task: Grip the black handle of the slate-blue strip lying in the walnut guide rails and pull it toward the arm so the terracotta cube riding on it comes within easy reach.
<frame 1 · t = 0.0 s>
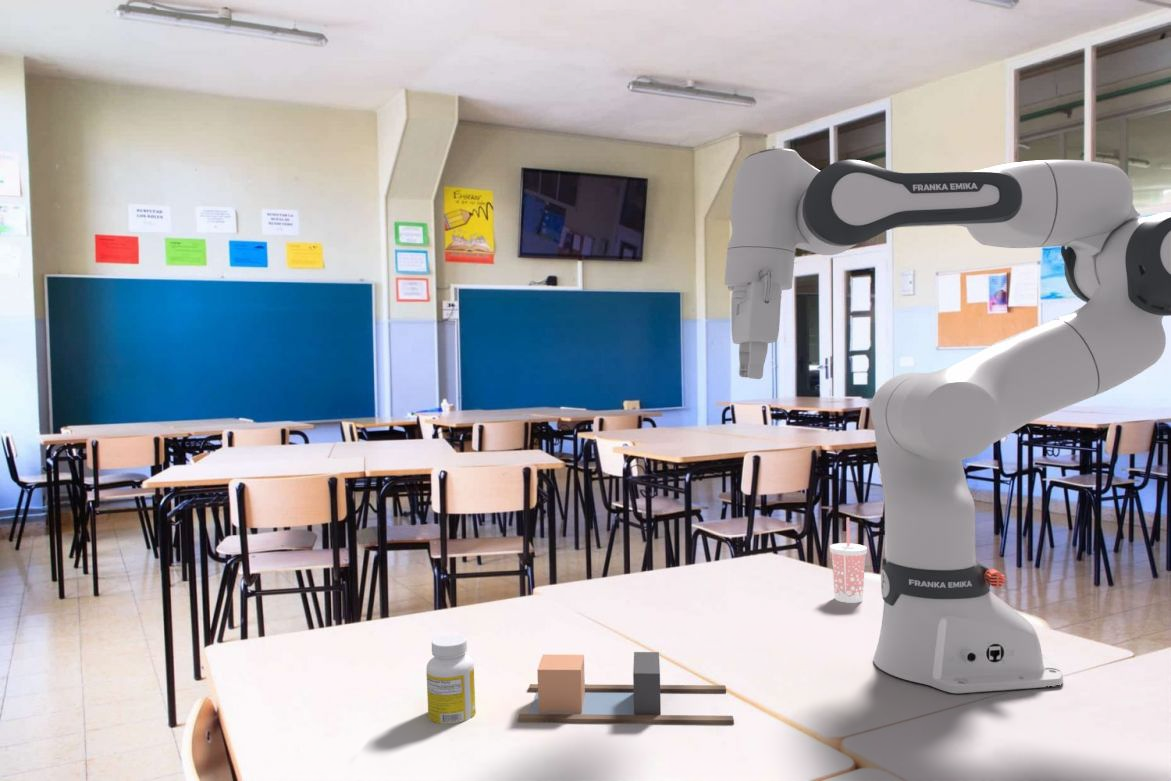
hand: (749, 378, 112), 39 cm above the table, tool pointing down, fingers open, 8 cm apart
beverage cup: (848, 600, 143), on the table
guide rails: (626, 714, 98), on the table
supplement bottle: (452, 725, 97), on the table
terracotta cube: (562, 703, 99), point 1 cm above the table, touching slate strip
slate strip: (595, 687, 98), point 3 cm above the table, slide at 0.0 cm, touching terracotta cube
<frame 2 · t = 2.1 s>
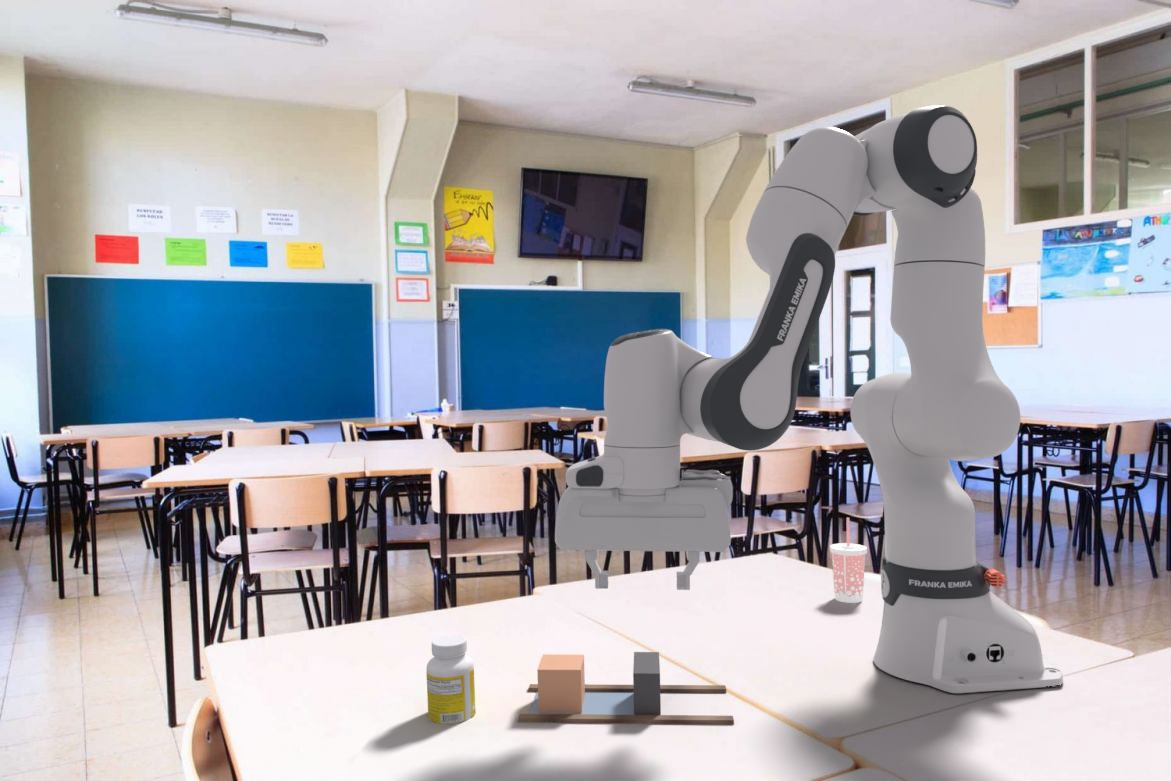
hand: (642, 588, 97), 15 cm above the table, tool pointing down, fingers open, 8 cm apart
nothing on the table moved.
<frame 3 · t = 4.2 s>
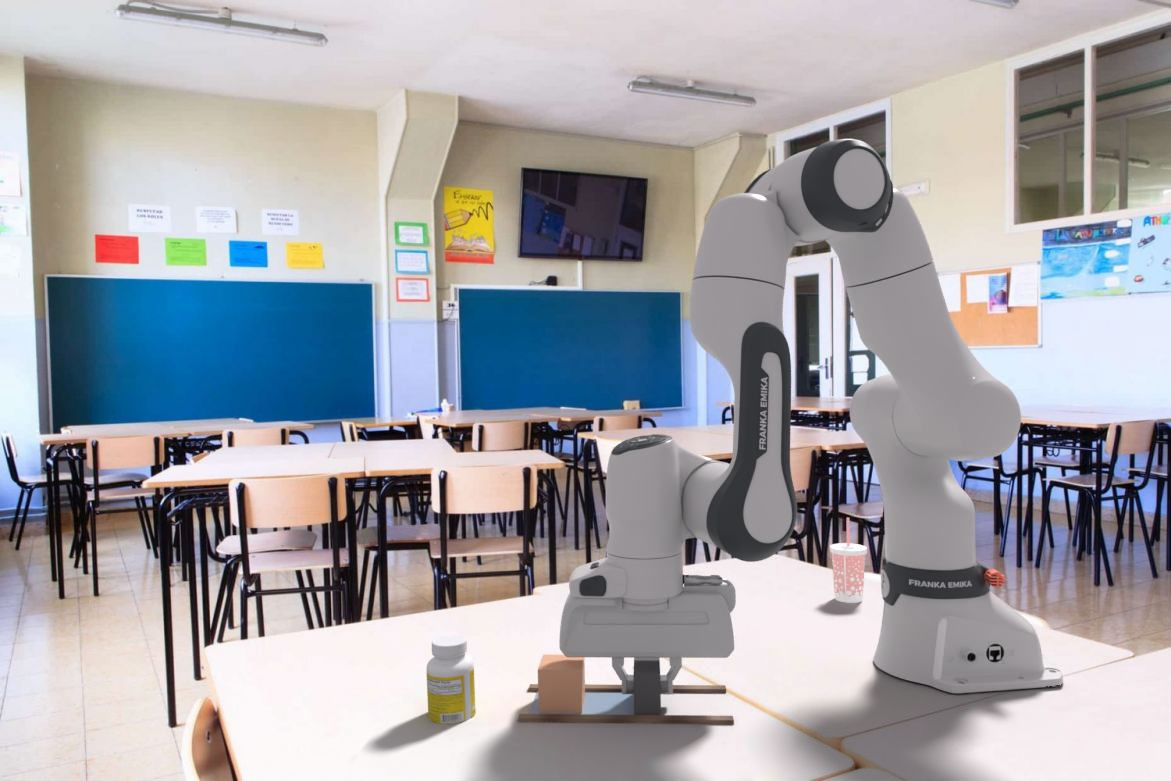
hand: (647, 692, 98), 3 cm above the table, tool pointing down, fingers closed on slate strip, 3 cm apart
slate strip: (596, 687, 98), point 3 cm above the table, slide at 0.0 cm, touching gripper, terracotta cube
everything else where it was.
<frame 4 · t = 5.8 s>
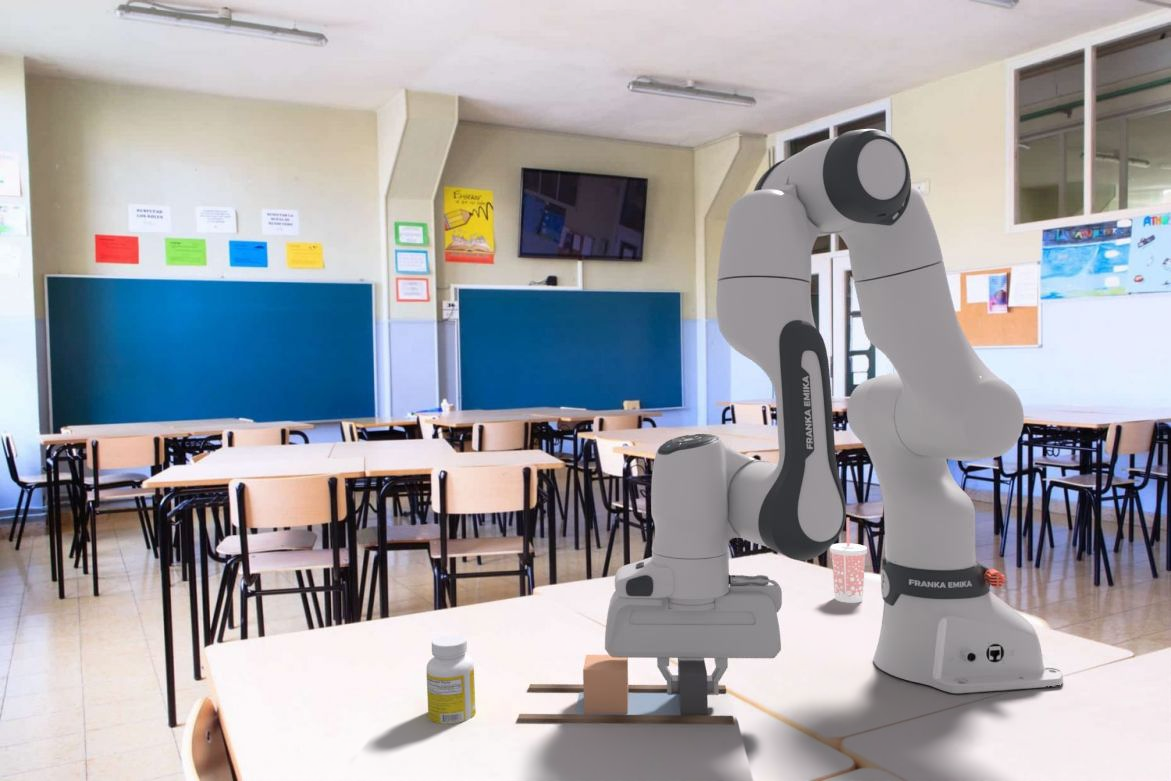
hand: (692, 693, 98), 3 cm above the table, tool pointing down, fingers closed on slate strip, 3 cm apart
terracotta cube: (606, 704, 98), point 1 cm above the table, touching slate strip
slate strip: (640, 687, 98), point 3 cm above the table, slide at 5.3 cm, touching gripper, terracotta cube
everything else where it was.
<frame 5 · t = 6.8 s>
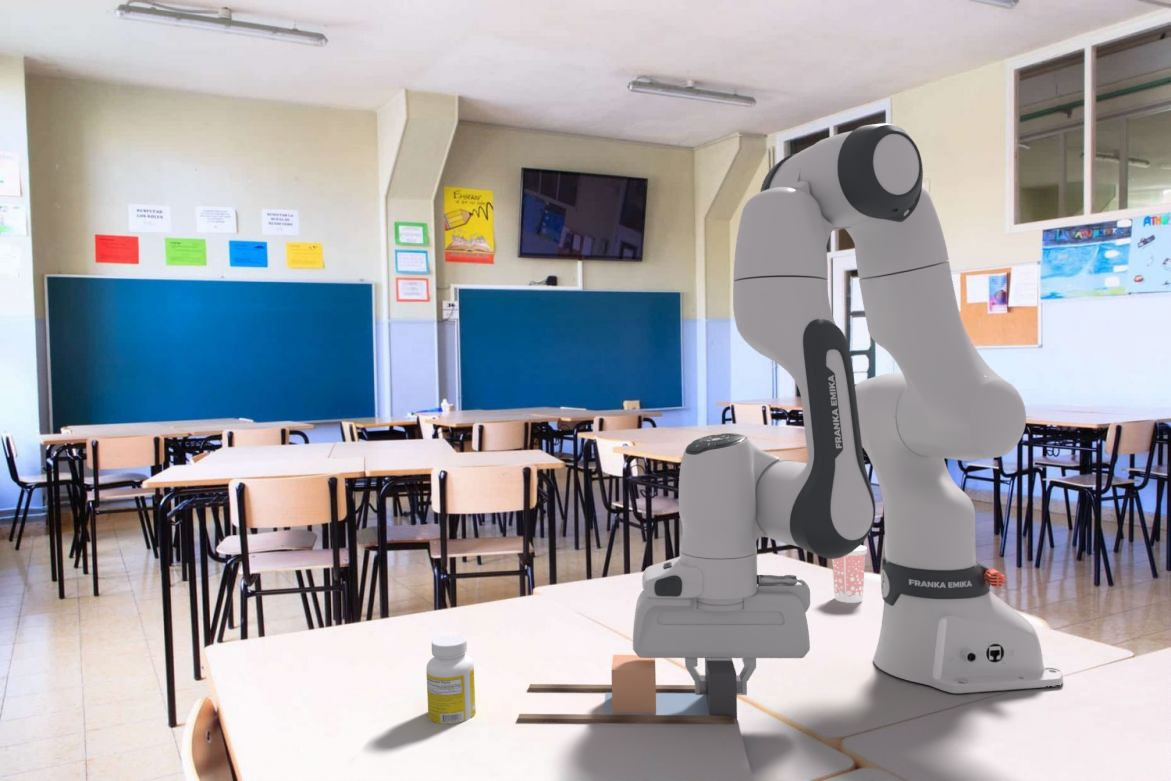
hand: (720, 693, 97), 3 cm above the table, tool pointing down, fingers closed on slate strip, 3 cm apart
terracotta cube: (634, 704, 98), point 1 cm above the table, touching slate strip
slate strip: (668, 687, 98), point 3 cm above the table, slide at 8.5 cm, touching gripper, terracotta cube
everything else where it was.
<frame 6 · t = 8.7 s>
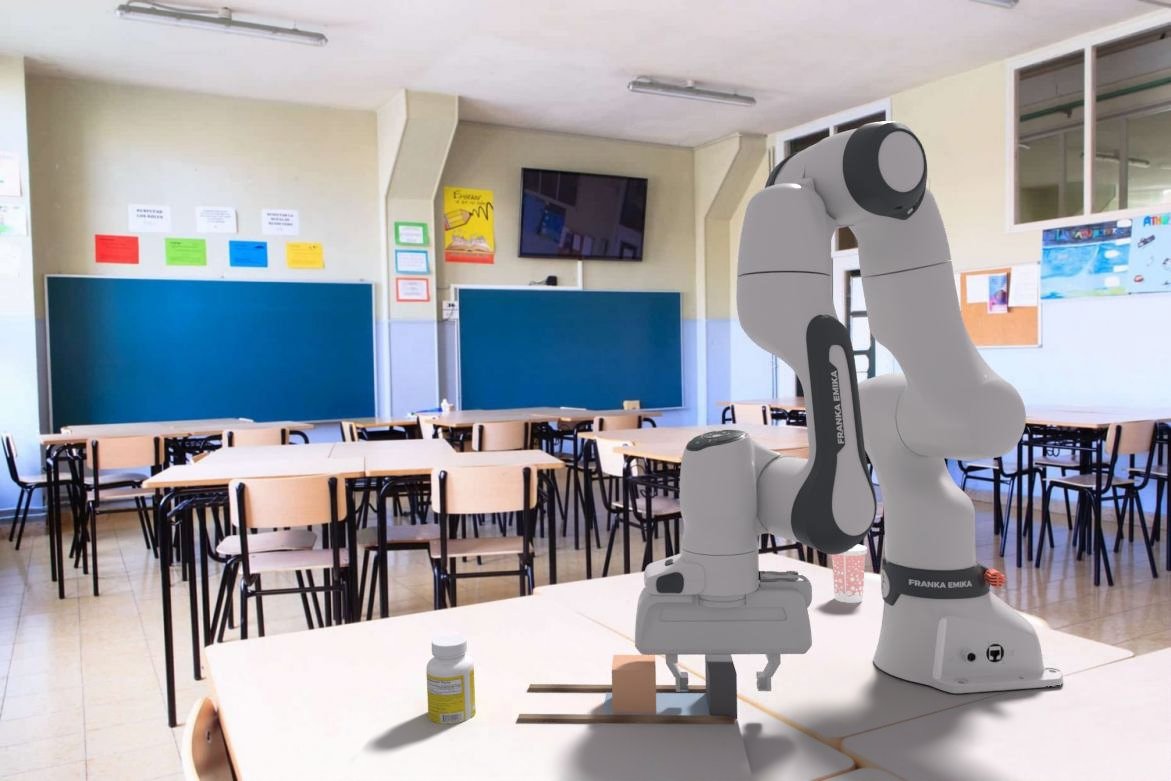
hand: (722, 689, 97), 3 cm above the table, tool pointing down, fingers open, 8 cm apart
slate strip: (668, 687, 98), point 3 cm above the table, slide at 8.5 cm, touching terracotta cube
everything else where it was.
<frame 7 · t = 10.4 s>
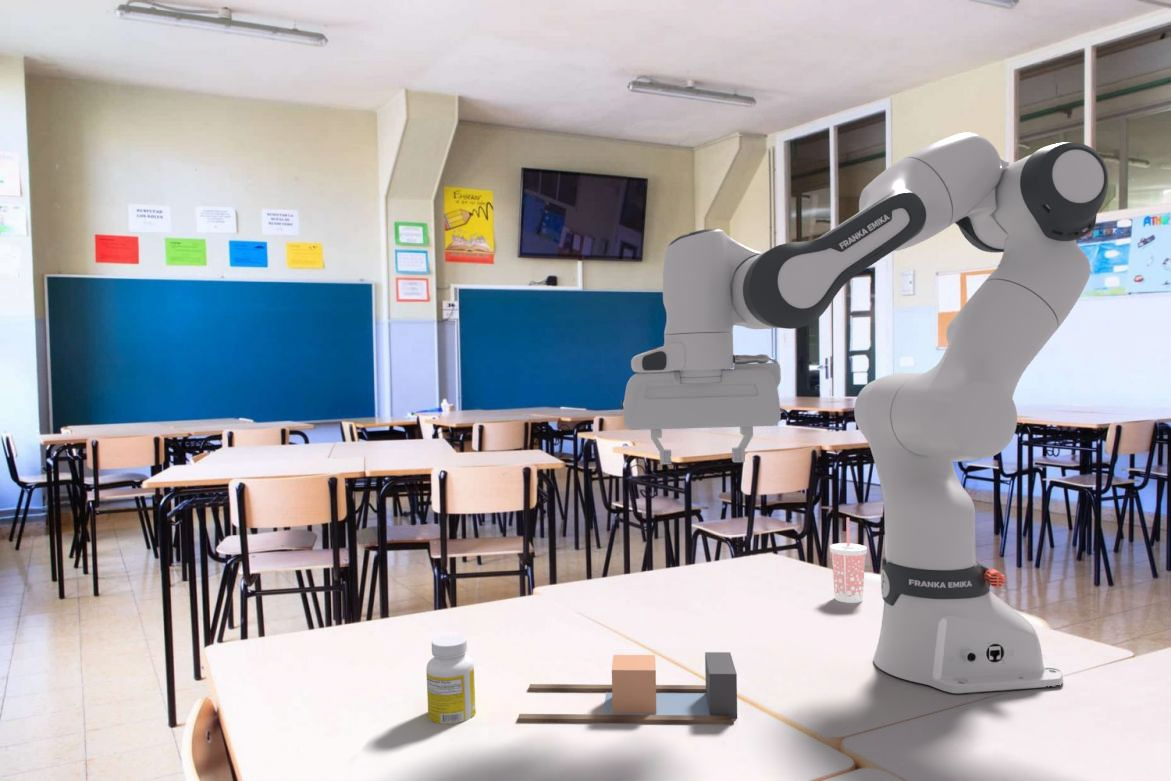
hand: (702, 462, 109), 28 cm above the table, tool pointing down, fingers open, 8 cm apart
nothing on the table moved.
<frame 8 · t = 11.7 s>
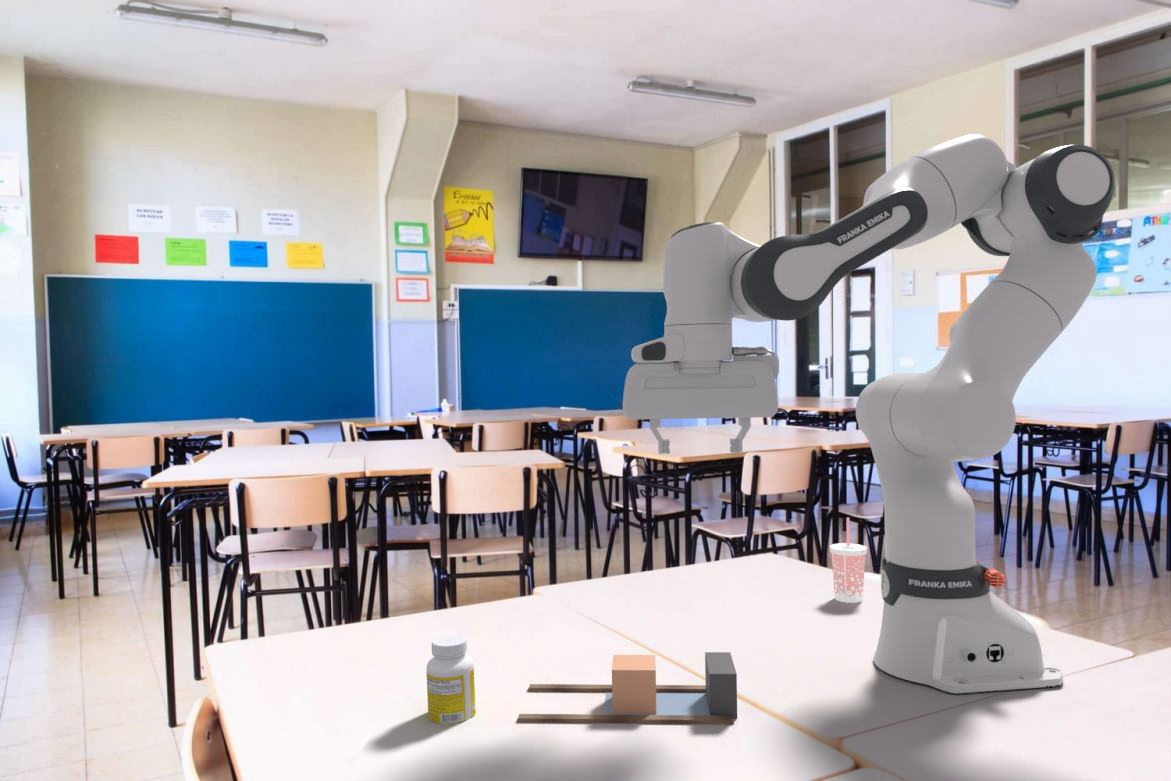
hand: (700, 453, 111), 29 cm above the table, tool pointing down, fingers open, 8 cm apart
nothing on the table moved.
at the end: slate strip slide at 8.5 cm; terracotta cube 0.2 cm from the target spot, point 1.2 cm above the table; terracotta cube tilted 0° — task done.
